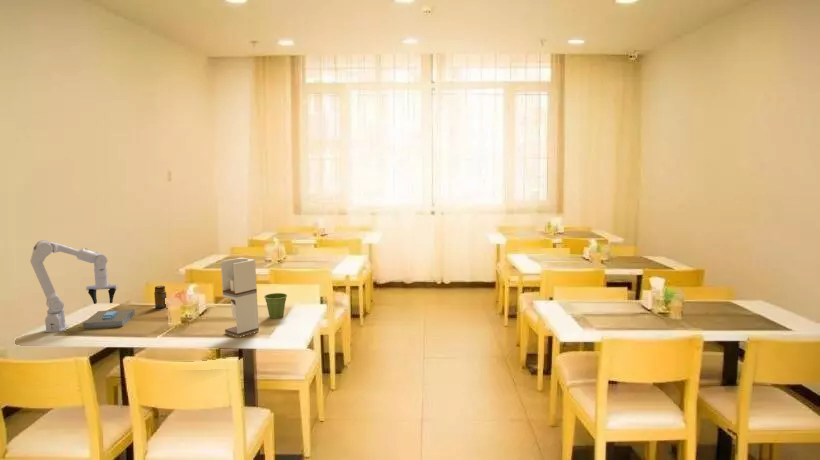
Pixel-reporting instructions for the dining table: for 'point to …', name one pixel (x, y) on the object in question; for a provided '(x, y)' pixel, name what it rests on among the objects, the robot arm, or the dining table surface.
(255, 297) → the espresso maker
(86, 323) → the chassis
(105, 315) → the servo
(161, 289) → the condiment
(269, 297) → the plant pot
